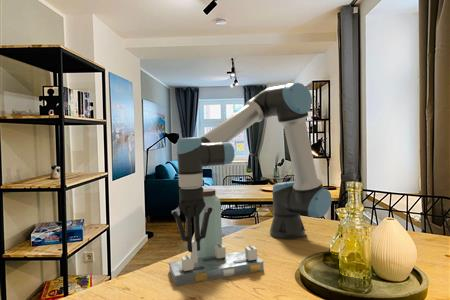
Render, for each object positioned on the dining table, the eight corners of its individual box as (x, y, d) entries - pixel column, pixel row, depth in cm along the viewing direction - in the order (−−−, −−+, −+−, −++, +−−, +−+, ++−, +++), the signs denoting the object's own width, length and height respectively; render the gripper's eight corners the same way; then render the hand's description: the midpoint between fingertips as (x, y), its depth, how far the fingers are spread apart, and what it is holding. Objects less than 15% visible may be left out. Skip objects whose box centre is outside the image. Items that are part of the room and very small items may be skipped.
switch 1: (191, 266, 108) (190, 254, 107) (193, 269, 105) (192, 257, 105) (182, 267, 107) (181, 255, 107) (183, 271, 104) (183, 258, 104)
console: (250, 258, 122) (249, 249, 122) (263, 270, 110) (263, 261, 110) (169, 271, 113) (169, 261, 113) (175, 286, 101) (175, 275, 101)
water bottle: (219, 262, 119) (216, 192, 118) (192, 261, 121) (189, 192, 120) (225, 252, 128) (222, 187, 127) (200, 252, 130) (197, 187, 129)
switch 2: (223, 254, 117) (222, 243, 117) (225, 257, 114) (225, 245, 114) (214, 255, 116) (214, 244, 116) (217, 258, 113) (216, 247, 113)
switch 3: (253, 256, 114) (253, 244, 114) (257, 259, 111) (256, 247, 111) (245, 257, 113) (245, 246, 113) (248, 260, 110) (248, 248, 110)
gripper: (208, 183, 111) (211, 254, 112) (168, 187, 107) (171, 260, 108) (214, 186, 104) (217, 262, 105) (172, 190, 100) (175, 268, 101)
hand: (194, 261), depth 106 cm, fingers closed
